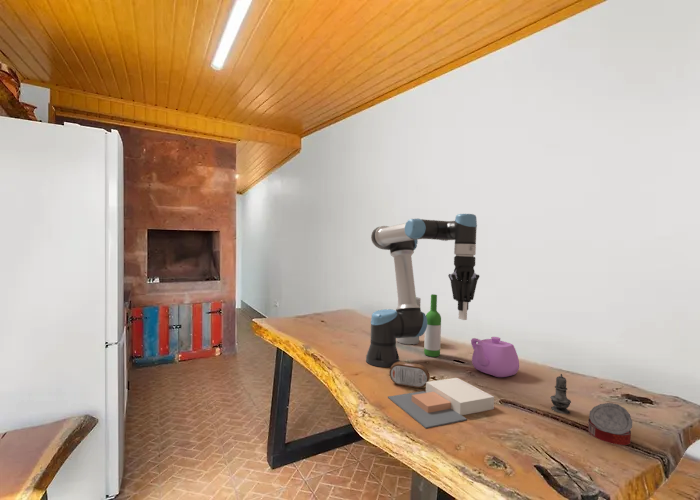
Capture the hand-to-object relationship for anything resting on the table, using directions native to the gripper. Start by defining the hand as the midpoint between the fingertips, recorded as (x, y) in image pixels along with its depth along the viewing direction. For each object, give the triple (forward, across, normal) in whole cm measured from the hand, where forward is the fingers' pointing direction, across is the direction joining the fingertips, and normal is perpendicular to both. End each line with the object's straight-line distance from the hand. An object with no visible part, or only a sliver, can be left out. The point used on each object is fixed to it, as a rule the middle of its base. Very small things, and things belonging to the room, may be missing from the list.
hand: (462, 319), depth 128 cm
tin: (+27, -16, +10) cm, 33 cm away
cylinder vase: (+27, +19, +65) cm, 73 cm away
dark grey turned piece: (+27, +21, -24) cm, 42 cm away
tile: (+26, -19, -7) cm, 33 cm away
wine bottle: (+27, +17, +40) cm, 51 cm away
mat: (+26, -22, -8) cm, 35 cm away
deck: (+26, -7, -7) cm, 28 cm away
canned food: (+27, +19, -40) cm, 52 cm away
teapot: (+27, +28, +11) cm, 40 cm away
